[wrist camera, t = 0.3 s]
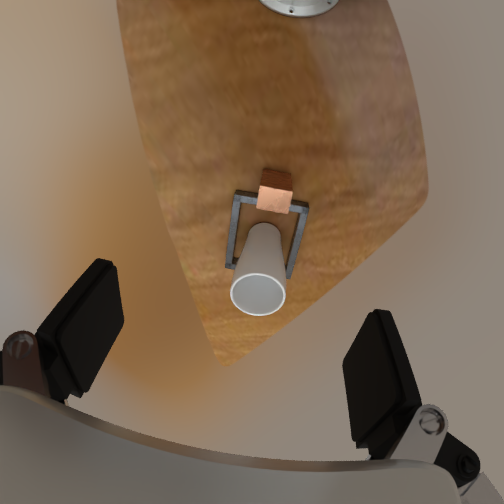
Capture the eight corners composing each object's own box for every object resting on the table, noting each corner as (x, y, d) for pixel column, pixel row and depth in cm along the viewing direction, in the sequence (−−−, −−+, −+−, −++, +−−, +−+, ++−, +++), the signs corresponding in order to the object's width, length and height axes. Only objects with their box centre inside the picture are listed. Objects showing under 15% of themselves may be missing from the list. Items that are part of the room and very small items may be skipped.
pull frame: (239, 164, 42) (231, 181, 35) (313, 178, 42) (320, 197, 35) (226, 261, 50) (218, 290, 44) (289, 272, 50) (290, 302, 44)
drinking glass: (294, 239, 47) (297, 300, 34) (261, 261, 50) (254, 324, 37) (267, 208, 45) (261, 262, 32) (234, 232, 48) (217, 291, 35)
